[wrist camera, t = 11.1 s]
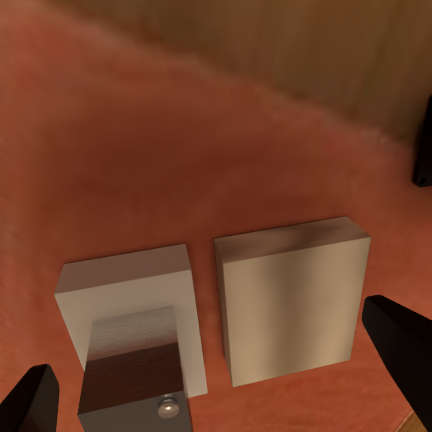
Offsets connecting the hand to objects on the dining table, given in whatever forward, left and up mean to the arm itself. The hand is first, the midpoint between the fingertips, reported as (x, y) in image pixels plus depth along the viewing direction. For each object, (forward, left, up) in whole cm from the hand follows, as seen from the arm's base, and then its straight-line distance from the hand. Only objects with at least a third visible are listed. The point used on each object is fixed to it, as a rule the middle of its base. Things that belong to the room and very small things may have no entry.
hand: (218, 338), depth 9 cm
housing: (+4, +11, -10) cm, 15 cm away
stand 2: (-7, +11, -13) cm, 18 cm away
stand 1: (+4, +11, -13) cm, 17 cm away
